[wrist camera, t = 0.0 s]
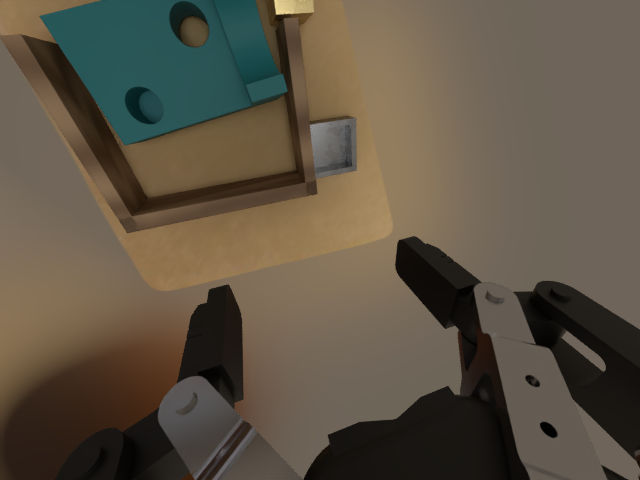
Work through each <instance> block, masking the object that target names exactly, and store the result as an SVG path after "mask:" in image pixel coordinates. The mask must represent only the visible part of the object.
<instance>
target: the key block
mask: <svg viewBox="0 0 640 480" xmlns="http://www.w3.org/2000/svg"><path fill="white" fill-rule="evenodd" d="M267 6H268V12H269V18H270V25H271V26H275V25H280V23H281V22H282V20H283V19H284V18H298V20H299V24H303V23H304V22H305V21H306V20H307V19H308V18H309V17H310V16H311V15H312V14H313V13H314V7H313V0H267Z"/></svg>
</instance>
